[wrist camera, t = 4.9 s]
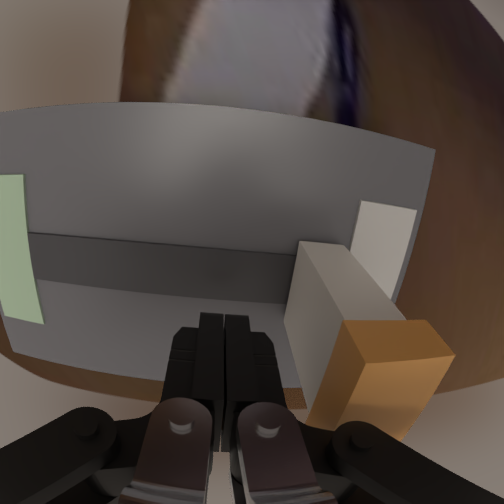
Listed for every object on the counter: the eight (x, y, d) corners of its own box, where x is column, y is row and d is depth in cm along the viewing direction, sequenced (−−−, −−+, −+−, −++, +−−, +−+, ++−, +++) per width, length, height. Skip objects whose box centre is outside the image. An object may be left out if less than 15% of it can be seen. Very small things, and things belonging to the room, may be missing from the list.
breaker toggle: (351, 239, 13) (455, 354, 6) (328, 327, 15) (385, 460, 8) (293, 233, 13) (366, 363, 6) (276, 325, 15) (310, 472, 8)
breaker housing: (387, 140, 17) (437, 150, 12) (339, 337, 22) (362, 386, 17) (28, 112, 14) (-25, 116, 10) (43, 310, 20) (11, 353, 15)
